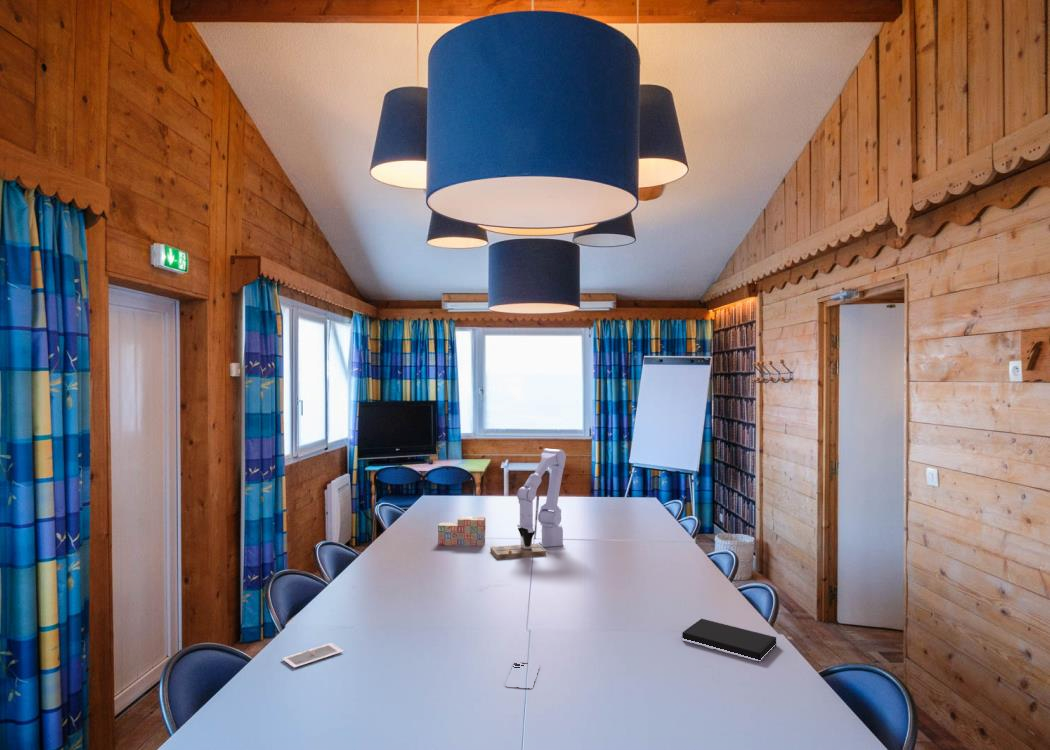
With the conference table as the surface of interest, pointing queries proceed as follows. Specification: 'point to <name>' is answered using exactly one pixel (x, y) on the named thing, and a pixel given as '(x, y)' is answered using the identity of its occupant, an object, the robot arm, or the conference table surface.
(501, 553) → the fader console
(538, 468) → the robot arm
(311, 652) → the touchpad
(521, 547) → the fader tab
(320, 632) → the conference table surface
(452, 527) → the stack of blocks
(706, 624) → the external hard drive
